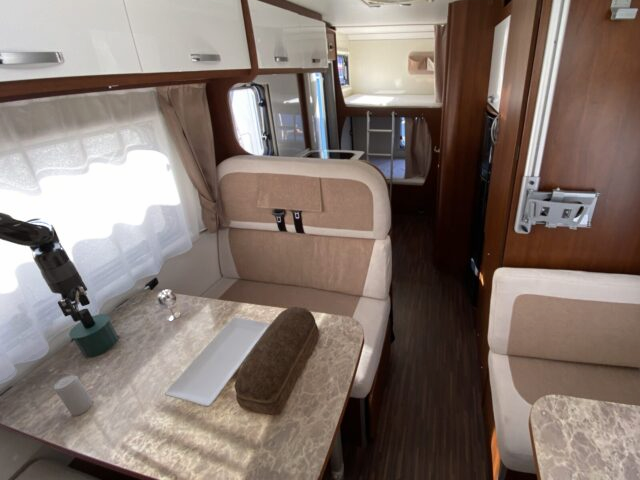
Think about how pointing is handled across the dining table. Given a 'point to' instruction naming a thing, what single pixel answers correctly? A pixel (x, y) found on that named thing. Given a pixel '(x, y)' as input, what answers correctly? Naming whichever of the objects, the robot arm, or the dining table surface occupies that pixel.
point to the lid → (89, 324)
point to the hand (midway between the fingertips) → (82, 312)
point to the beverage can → (73, 394)
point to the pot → (98, 341)
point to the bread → (276, 362)
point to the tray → (218, 362)
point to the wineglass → (168, 302)
